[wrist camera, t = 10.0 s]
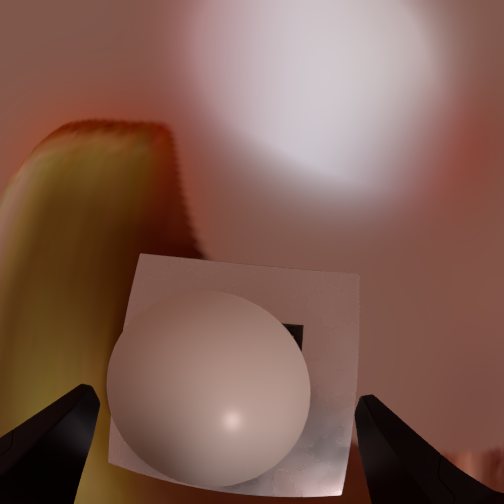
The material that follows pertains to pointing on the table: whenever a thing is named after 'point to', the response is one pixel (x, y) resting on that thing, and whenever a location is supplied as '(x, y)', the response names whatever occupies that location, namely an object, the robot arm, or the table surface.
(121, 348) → the white tall rounded piece
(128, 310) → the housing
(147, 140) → the table surface
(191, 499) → the table surface
